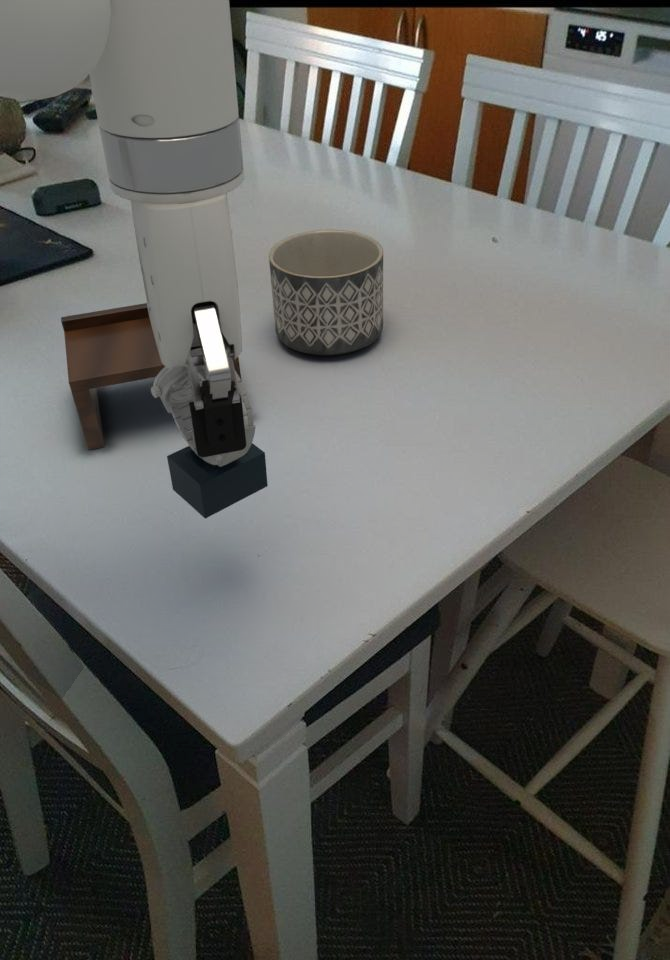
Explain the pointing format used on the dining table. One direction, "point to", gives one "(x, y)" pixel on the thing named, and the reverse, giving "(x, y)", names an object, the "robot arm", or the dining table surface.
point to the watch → (210, 477)
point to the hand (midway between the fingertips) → (209, 413)
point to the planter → (327, 291)
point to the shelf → (108, 358)
